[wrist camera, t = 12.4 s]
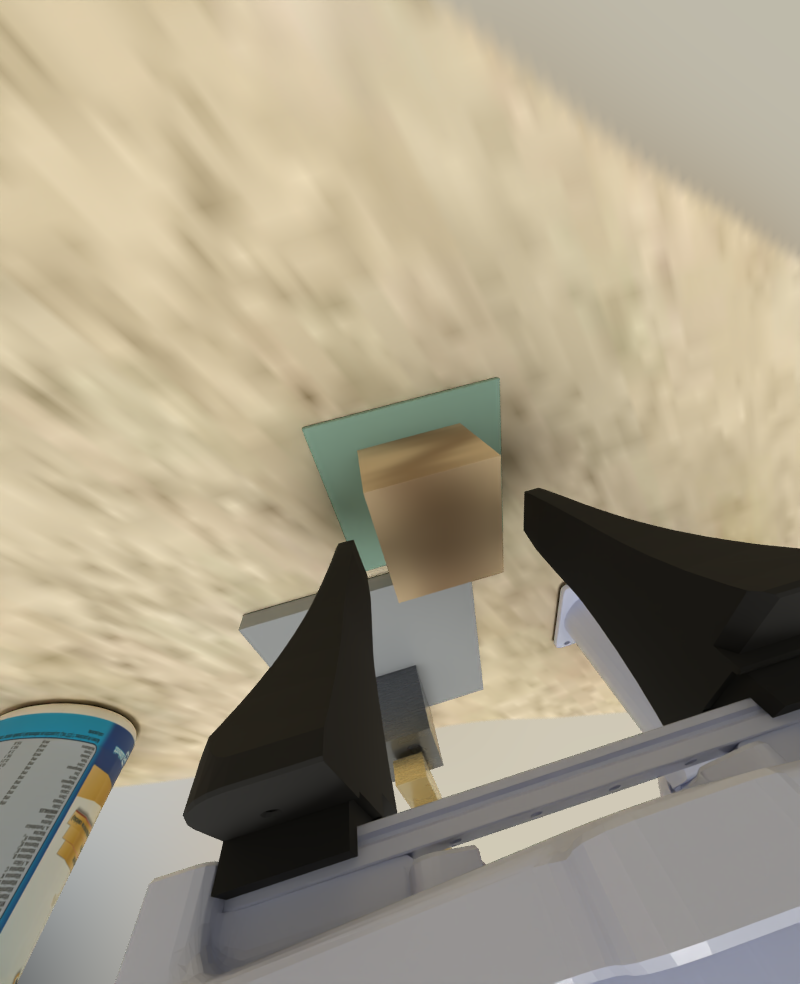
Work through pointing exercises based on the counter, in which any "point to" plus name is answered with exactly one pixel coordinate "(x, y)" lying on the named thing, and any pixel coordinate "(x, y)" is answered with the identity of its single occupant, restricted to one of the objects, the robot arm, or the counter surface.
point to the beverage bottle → (49, 810)
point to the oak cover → (435, 509)
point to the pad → (385, 424)
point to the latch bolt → (415, 781)
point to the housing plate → (399, 657)
